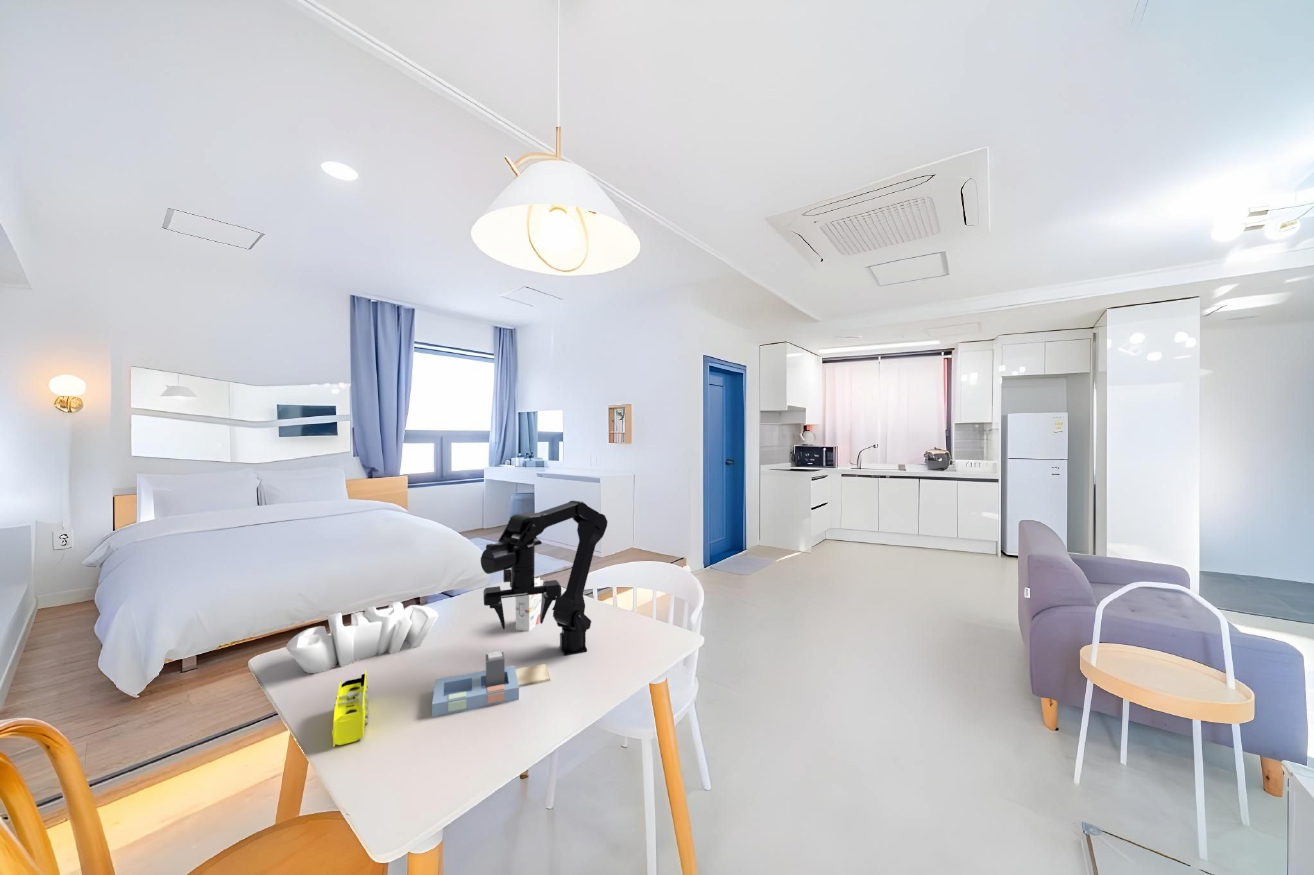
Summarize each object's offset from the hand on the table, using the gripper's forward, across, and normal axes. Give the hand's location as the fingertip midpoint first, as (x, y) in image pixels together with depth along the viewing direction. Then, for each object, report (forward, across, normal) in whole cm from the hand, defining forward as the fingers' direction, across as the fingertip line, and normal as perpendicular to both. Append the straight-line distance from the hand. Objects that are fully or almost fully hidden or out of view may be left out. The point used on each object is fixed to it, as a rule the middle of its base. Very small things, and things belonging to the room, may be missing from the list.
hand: (522, 625), depth 117 cm
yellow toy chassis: (+13, +36, +7) cm, 38 cm away
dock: (+12, +11, +6) cm, 18 cm away
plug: (+12, +7, +6) cm, 15 cm away
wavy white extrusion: (+13, +39, -29) cm, 50 cm away
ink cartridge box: (+13, -5, -31) cm, 34 cm away
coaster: (+12, -2, +2) cm, 13 cm away
